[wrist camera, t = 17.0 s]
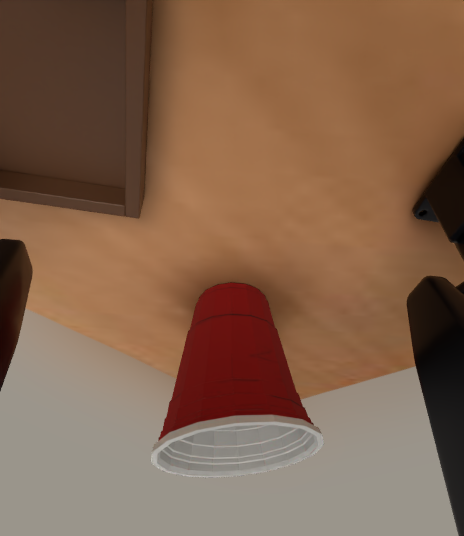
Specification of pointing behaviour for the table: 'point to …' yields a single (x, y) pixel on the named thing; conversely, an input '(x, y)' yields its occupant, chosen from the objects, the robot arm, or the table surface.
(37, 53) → the tray
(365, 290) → the table surface
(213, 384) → the plastic cup
